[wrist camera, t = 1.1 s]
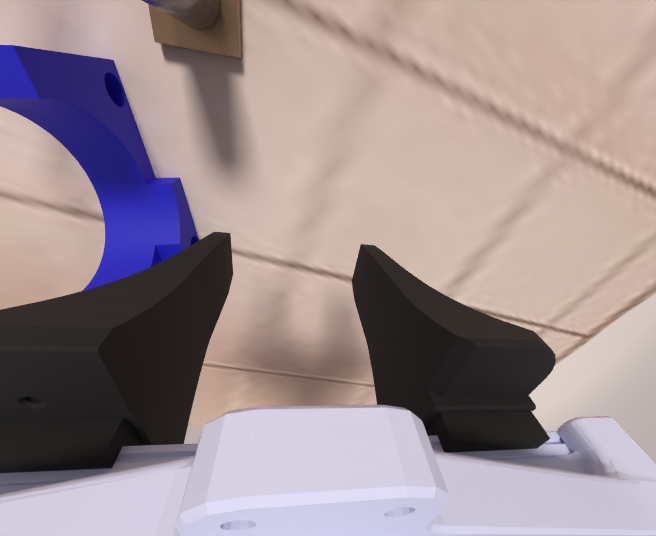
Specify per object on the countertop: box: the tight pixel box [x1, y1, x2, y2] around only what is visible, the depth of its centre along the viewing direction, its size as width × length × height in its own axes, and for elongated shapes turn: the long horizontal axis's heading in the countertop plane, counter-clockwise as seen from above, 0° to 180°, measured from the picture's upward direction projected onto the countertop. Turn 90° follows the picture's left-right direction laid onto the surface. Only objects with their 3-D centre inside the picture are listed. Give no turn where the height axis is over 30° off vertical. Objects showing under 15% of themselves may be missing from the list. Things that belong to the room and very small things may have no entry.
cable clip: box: [0, 45, 199, 291], centre depth 15 cm, size 12×4×6 cm, turn 0°
